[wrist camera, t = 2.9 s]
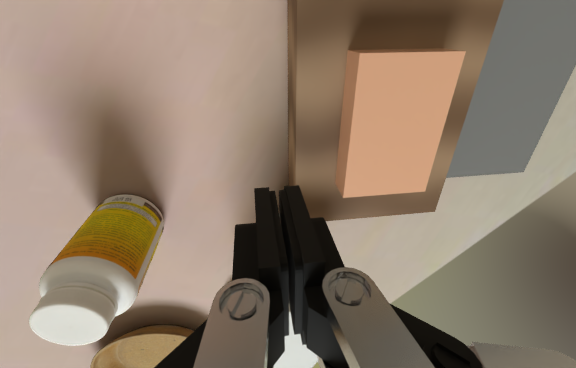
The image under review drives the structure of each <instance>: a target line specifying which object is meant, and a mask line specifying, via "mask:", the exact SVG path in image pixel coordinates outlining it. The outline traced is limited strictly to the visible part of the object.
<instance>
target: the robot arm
mask: <svg viewBox="0 0 576 368" xmlns="http://www.w3.org/2000/svg"><path fill="white" fill-rule="evenodd" d="M254 192H255V210H256V223H250V224H239V225H235V239H234V257H233V275H232V281H231V282H229V283H227V284H226V285H224V286H223V287H222V288H221V289H220V290H219V291H218V292H217V294H216V296H215V298H214V300H213V303H212V306H211V310H210V313H209V316H208V319H207V320H206V321H205V322H204V323H203V324H202V325H201V326H199V327H198V328H197V329H196V330H195V331H194V332H193V333H192V334H191V335H189V336H188V337H187V338H186V339H185V340H184V341H183V342H182V343H181V344H180V345H178V346H177V347H176V348H175V349H174V350H173V351H172V352H171V353H170V354H168V355H167V356H166V357H165V358H164V359H163V360H162V361H161V362H160V363H158V364H157V365H156V366H155V367H154V368H274V365H275V363H276V362H277V361H278V359H279V358H280V357H281V355H282V354H283V353H284V351H285V336H289V306H290V312H291V318H292V324H293V331H294V335H296V334H300V335H301V340H302V345H306V347H307V348H308V349H309V350H310V351H312V352H313V353H315V354H316V355H317V358H318V363H319V366H320V368H576V361H575V360H574V359H572V358H570V357H568V356H566V355H564V354H562V353H560V352H557V351H553V350H549V349H539V348H529V347H519V346H507V345H498V344H488V343H478V342H472V344H471V346H466V345H465V344H464V343H462V342H461V341H459V340H457V339H456V338H454V337H452V336H450V335H449V334H447V333H445V332H442V331H441V330H439V329H437V328H435V327H433V326H431V325H429V324H428V323H426V322H424V321H422V320H420V319H418V318H416V317H414V316H412V315H410V314H409V313H407V312H405V311H403V310H401V309H399V308H397V307H395V306H393V305H391V304H389V302H388V301H387V300H386V298H385V297H384V295H383V294H382V293H381V291H380V290H379V288H378V287H377V286H376V284H375V283H374V281H373V280H372V279H371V278H370V277H369V276H368V275H366V274H365V273H363V272H362V271H359V270H357V269H354V268H347V267H344V264H343V262H342V260H341V257H340V255H339V252H338V250H337V248H336V245H335V243H334V241H333V238H332V236H331V233H330V231H329V229H328V226H327V224H326V222H325V220H324V218H323V217H318V218H310V215H309V212H308V209H307V207H306V204H305V201H304V198H303V195H302V192H301V189H300V186H299V185H295V186H284V190H279V211H280V217H279V211H278V206H277V200H276V195H275V191H269V187H268V188H254Z"/></svg>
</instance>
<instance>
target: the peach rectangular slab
mask: <svg viewBox="0 0 576 368" xmlns="http://www.w3.org/2000/svg"><path fill="white" fill-rule="evenodd" d="M465 53H466V51H461V50H453V49H445V48H435V49H379V50H348V52H347V63H346V73H345V84H344V95H343V105H342V116H341V126H340V137H339V148H338V158H337V169H336V180H335V184H336V186H337V188H338V189H339V191H340V193H341V195H342V197H343V198H349V197H362V196H375V195H387V194H400V193H413V192H425V190H426V187H427V183H428V180H429V176H430V173H431V170H432V166H433V163H434V159H435V156H436V152H437V149H438V146H439V142H440V139H441V135H442V132H443V128H444V125H445V122H446V118H447V115H448V111H449V108H450V104H451V101H452V97H453V94H454V91H455V87H456V84H457V80H458V77H459V73H460V70H461V67H462V63H463V60H464V56H465Z"/></svg>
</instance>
